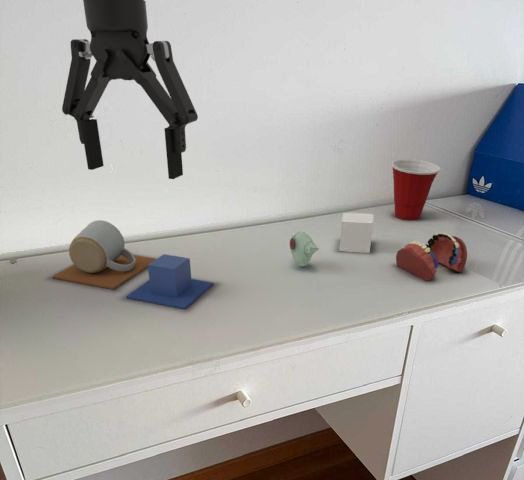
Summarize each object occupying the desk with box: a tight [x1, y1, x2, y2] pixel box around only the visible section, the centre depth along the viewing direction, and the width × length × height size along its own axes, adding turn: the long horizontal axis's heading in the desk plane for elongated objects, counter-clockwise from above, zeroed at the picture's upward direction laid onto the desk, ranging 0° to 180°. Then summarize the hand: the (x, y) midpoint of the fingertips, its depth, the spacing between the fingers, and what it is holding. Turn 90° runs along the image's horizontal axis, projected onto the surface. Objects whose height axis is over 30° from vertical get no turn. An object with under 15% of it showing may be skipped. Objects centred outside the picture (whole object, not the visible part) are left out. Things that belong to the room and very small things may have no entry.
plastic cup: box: [390, 158, 441, 221], centre depth 118 cm, size 11×11×12 cm
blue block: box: [147, 253, 192, 297], centre depth 86 cm, size 5×5×5 cm
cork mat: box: [52, 254, 157, 290], centre depth 95 cm, size 13×14×1 cm
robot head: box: [289, 230, 320, 268], centre depth 94 cm, size 8×4×7 cm, turn 25°
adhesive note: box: [338, 212, 374, 254], centre depth 103 cm, size 6×6×6 cm
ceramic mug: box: [68, 219, 136, 273], centre depth 93 cm, size 11×8×8 cm
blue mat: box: [126, 278, 215, 310], centre depth 87 cm, size 11×10×1 cm
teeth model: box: [395, 232, 468, 282], centre depth 93 cm, size 8×6×12 cm
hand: (134, 172), depth 75 cm, fingers open, 13 cm apart
